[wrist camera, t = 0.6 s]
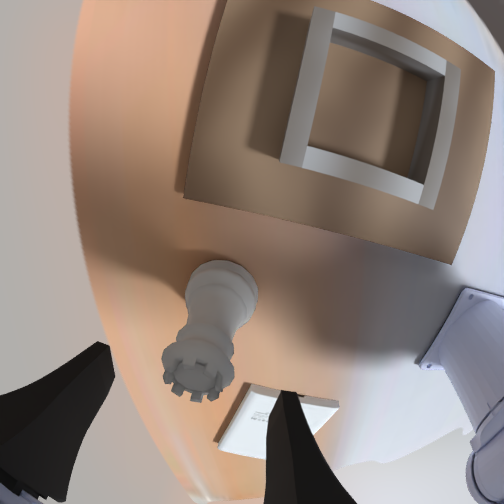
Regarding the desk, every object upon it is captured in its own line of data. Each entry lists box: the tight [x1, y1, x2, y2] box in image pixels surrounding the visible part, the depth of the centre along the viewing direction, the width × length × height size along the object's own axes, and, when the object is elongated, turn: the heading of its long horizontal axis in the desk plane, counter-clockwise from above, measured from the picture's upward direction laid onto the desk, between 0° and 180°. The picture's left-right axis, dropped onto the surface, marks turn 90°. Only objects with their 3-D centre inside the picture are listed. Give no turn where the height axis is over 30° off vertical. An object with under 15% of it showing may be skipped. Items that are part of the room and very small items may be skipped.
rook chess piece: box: [161, 260, 258, 403], centre depth 14 cm, size 4×4×8 cm
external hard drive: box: [218, 384, 340, 459], centre depth 23 cm, size 2×8×12 cm
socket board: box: [183, 0, 495, 265], centre depth 11 cm, size 17×14×3 cm
